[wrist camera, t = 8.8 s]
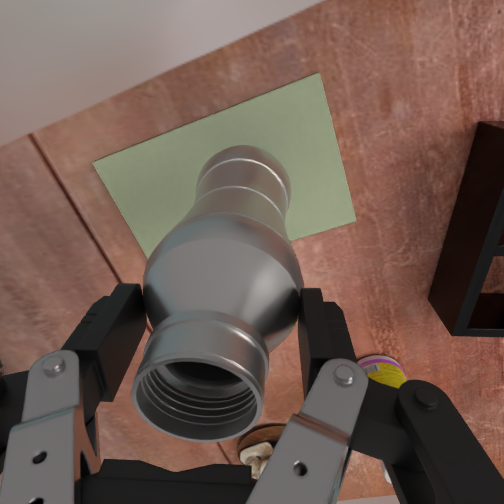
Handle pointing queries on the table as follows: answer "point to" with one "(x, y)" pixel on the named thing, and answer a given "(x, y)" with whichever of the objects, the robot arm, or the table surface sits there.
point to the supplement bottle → (383, 377)
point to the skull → (259, 448)
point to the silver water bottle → (219, 301)
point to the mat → (227, 135)
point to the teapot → (1, 368)
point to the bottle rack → (474, 242)
